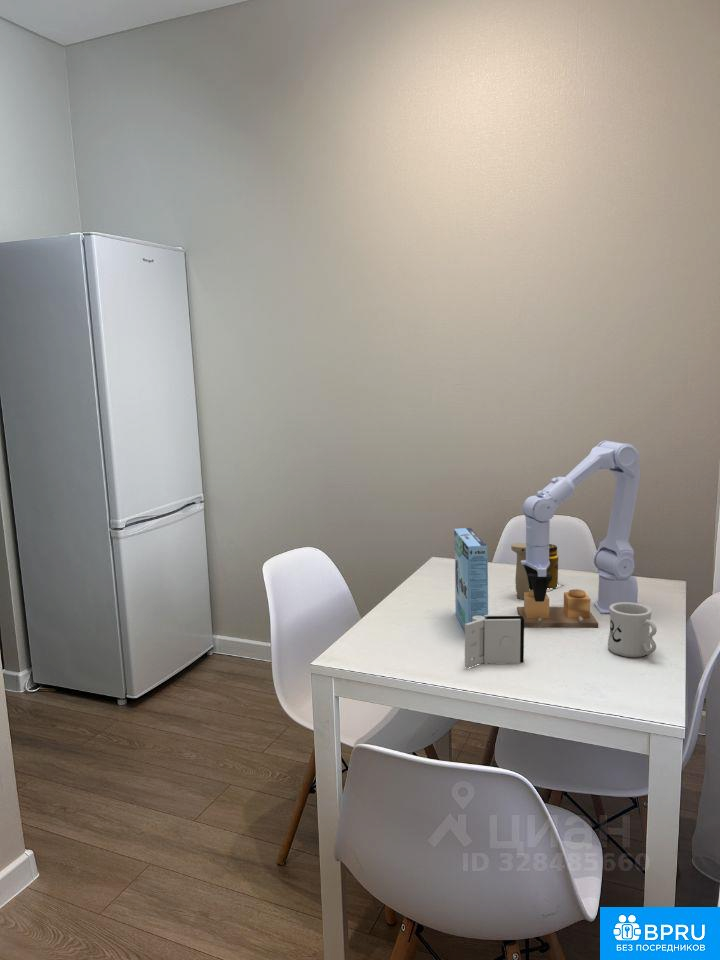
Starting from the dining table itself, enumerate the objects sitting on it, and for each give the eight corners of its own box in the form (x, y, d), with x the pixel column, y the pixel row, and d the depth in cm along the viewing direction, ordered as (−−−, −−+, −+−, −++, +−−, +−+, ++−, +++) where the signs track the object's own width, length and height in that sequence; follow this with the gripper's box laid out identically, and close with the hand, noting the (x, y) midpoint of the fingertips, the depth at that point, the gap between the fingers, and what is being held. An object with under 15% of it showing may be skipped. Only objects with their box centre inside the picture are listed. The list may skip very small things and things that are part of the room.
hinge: (465, 669, 160) (465, 625, 158) (457, 660, 165) (457, 616, 163) (526, 663, 162) (527, 619, 161) (516, 654, 168) (517, 611, 166)
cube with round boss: (545, 611, 192) (545, 588, 191) (548, 618, 186) (549, 595, 186) (523, 610, 192) (524, 588, 191) (527, 618, 187) (527, 595, 186)
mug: (598, 647, 170) (600, 605, 169) (629, 640, 174) (631, 599, 172) (638, 667, 159) (640, 622, 158) (670, 659, 163) (672, 615, 161)
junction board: (586, 611, 194) (587, 584, 193) (598, 627, 183) (599, 599, 181) (517, 611, 196) (517, 584, 195) (523, 627, 184) (524, 599, 183)
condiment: (563, 585, 217) (564, 545, 215) (548, 592, 211) (548, 551, 209) (542, 580, 222) (542, 541, 220) (525, 587, 216) (526, 546, 214)
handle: (534, 601, 203) (535, 548, 201) (510, 600, 205) (510, 546, 202) (534, 596, 208) (535, 543, 205) (511, 594, 209) (511, 542, 207)
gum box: (488, 640, 176) (489, 545, 173) (467, 640, 176) (467, 546, 172) (473, 612, 195) (473, 527, 192) (453, 613, 195) (453, 528, 192)
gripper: (517, 537, 194) (516, 587, 196) (525, 551, 180) (525, 605, 182) (544, 537, 193) (544, 587, 195) (555, 551, 179) (554, 605, 181)
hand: (536, 596), depth 189 cm, fingers open, 7 cm apart
